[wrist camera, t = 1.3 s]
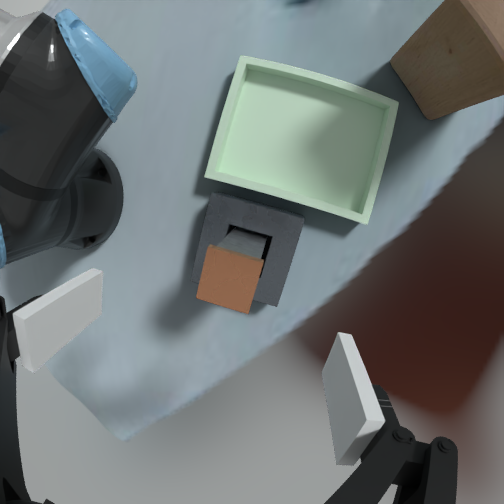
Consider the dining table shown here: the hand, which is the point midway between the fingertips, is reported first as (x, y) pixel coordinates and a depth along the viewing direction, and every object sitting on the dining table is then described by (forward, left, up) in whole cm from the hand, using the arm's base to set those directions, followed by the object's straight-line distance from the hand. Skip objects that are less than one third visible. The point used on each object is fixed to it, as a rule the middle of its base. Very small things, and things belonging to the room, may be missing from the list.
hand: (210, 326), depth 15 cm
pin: (-1, -1, -24) cm, 24 cm away
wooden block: (+17, +29, -25) cm, 42 cm away
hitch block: (-1, -1, -24) cm, 24 cm away
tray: (+2, +14, -24) cm, 28 cm away
